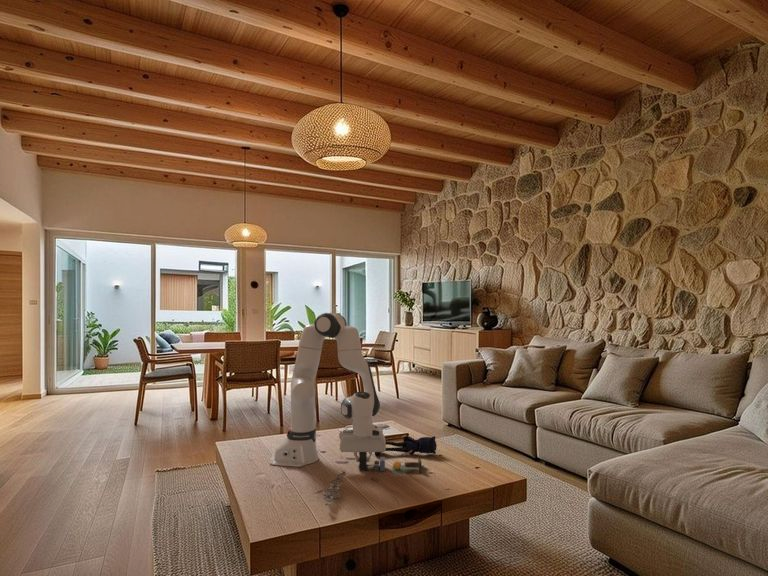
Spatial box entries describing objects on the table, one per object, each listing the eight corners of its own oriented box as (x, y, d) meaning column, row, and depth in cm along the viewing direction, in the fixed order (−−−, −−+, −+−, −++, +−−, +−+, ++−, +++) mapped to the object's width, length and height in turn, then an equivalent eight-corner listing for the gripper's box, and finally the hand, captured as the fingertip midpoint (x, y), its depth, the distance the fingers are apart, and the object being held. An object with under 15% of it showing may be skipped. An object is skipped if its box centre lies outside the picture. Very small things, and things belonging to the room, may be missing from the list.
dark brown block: (373, 472, 196) (373, 465, 196) (374, 467, 202) (374, 460, 203) (378, 472, 196) (378, 465, 196) (379, 467, 202) (379, 460, 202)
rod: (358, 471, 197) (357, 452, 197) (359, 467, 202) (358, 449, 202) (384, 471, 197) (384, 452, 197) (385, 467, 202) (384, 449, 202)
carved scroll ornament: (318, 516, 158) (317, 504, 158) (337, 480, 188) (336, 470, 188) (331, 516, 158) (331, 504, 158) (348, 480, 188) (347, 470, 188)
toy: (375, 458, 221) (437, 457, 218) (372, 455, 213) (437, 454, 210) (375, 437, 226) (436, 436, 223) (373, 433, 218) (436, 432, 215)
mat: (392, 474, 194) (392, 473, 194) (392, 465, 204) (392, 465, 204) (425, 474, 194) (425, 473, 194) (423, 465, 204) (423, 465, 204)
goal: (405, 473, 194) (405, 461, 195) (404, 465, 203) (404, 454, 204) (421, 473, 194) (421, 461, 194) (420, 465, 203) (420, 454, 203)
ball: (393, 471, 197) (392, 462, 197) (393, 468, 201) (393, 460, 201) (401, 471, 197) (400, 462, 197) (401, 468, 201) (400, 460, 201)
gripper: (338, 432, 197) (338, 464, 197) (385, 431, 197) (385, 464, 196) (340, 427, 203) (340, 459, 203) (385, 427, 203) (386, 459, 203)
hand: (363, 461), depth 200 cm, fingers closed on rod, 3 cm apart
